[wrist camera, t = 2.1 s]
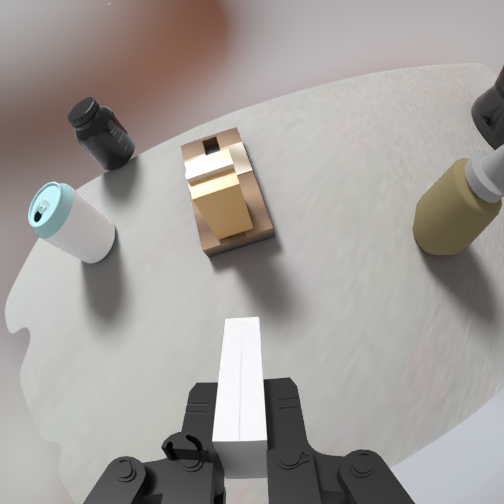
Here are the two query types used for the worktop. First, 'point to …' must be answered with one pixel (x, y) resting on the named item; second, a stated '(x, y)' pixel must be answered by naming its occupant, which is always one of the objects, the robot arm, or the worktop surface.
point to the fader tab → (218, 194)
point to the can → (71, 223)
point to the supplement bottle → (101, 134)
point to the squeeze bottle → (460, 204)
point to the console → (248, 186)
